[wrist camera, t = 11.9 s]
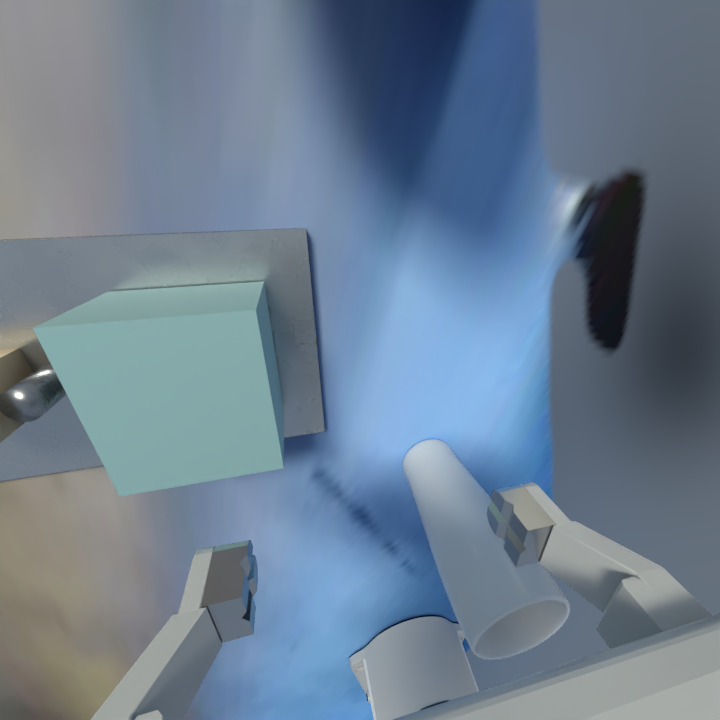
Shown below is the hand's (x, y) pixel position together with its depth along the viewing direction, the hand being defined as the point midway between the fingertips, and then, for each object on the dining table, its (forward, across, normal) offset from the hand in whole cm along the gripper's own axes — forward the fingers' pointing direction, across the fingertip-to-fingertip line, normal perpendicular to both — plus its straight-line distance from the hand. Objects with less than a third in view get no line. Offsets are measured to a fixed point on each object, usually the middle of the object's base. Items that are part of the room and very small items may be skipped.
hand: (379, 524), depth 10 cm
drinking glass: (+16, -9, +14) cm, 23 cm away
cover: (+15, +8, 0) cm, 17 cm away
